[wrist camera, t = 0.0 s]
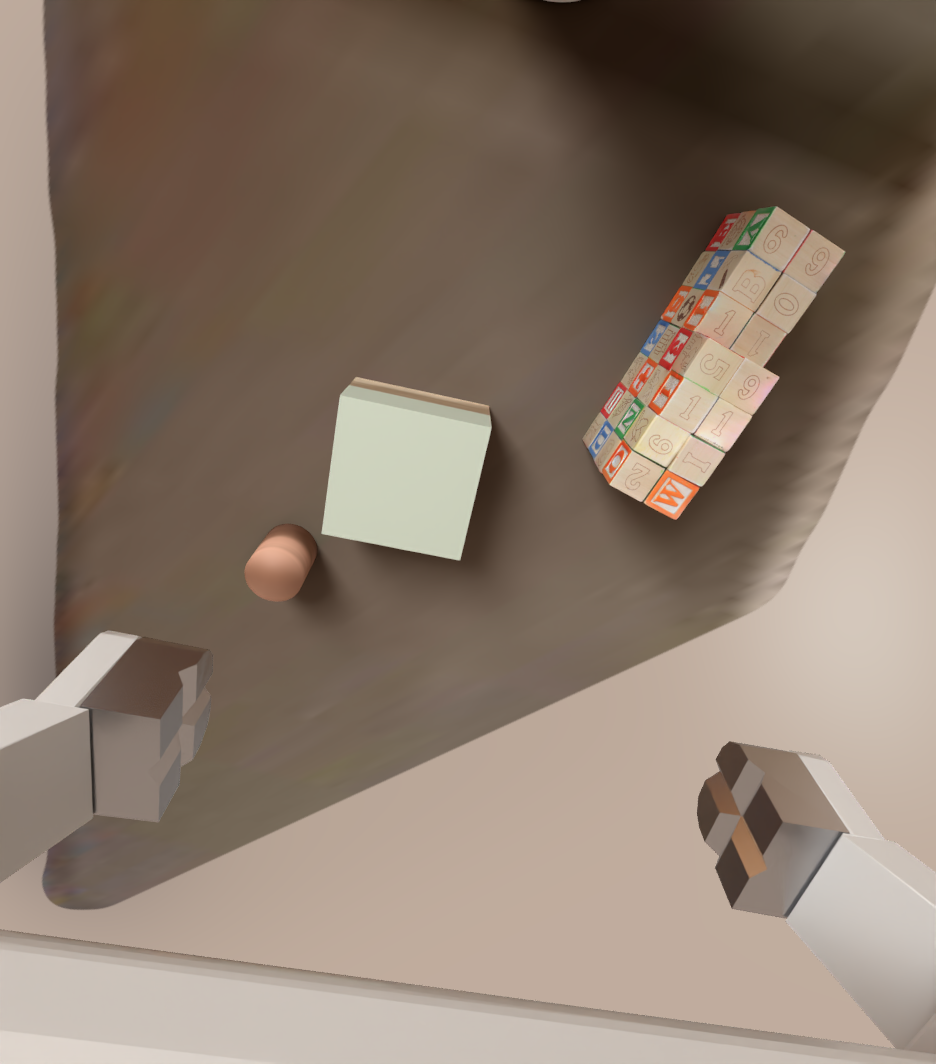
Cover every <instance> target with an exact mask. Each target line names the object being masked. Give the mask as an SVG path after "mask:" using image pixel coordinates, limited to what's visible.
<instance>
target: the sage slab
mask: <svg viewBox="0 0 936 1064" xmlns="http://www.w3.org/2000/svg"><path fill="white" fill-rule="evenodd" d="M491 429H492V426H491V419H490V415H485V414H481V413H476V412H472V411H467V410H462V409H458V408H453V407H448V406H444V405H439V404H435V403H430V402H425V401H421V400H416V399H411V398H407V397H402V396H398V395H393V394H388V393H384V392H379V391H374V390H370V389H365V388H360V387H356V386H351V385H349V386H348V387H347V388H346V389H345V390H344V391H343V393H342V394H341V395H340V400H339V407H338V415H337V422H336V430H335V437H334V445H333V452H332V460H331V467H330V475H329V482H328V490H327V497H326V505H325V512H324V520H323V528H322V534H326V535H331V536H336V537H341V538H346V539H351V540H357V541H362V542H367V543H372V544H377V545H382V546H387V547H393V548H398V549H403V550H408V551H413V552H418V553H423V554H429V555H434V556H439V557H444V558H449V559H454V560H459V561H460V559H461V555H462V550H463V546H464V542H465V538H466V534H467V529H468V525H469V521H470V517H471V513H472V508H473V504H474V500H475V496H476V492H477V487H478V483H479V479H480V475H481V471H482V466H483V462H484V458H485V454H486V450H487V445H488V441H489V437H490V433H491Z"/></svg>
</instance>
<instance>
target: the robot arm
mask: <svg viewBox="0 0 936 1064" xmlns="http://www.w3.org/2000/svg"><path fill="white" fill-rule="evenodd" d="M545 1H551V2H573V1H579V0H545ZM212 673H213V654H212V652H211V651H210V650H208V649H203V648H198V647H193V646H188V645H183V644H178V643H173V642H168V641H163V640H158V639H153V638H148V637H140V636H136V635H130V634H125V633H120V632H114V631H106V632H103V633H100V634H99V635H98V636H97V637H96V638H95V639H94V640H93V641H92V642H91V643H90V644H89V645H88V646H87V647H86V648H85V649H84V650H83V651H82V652H81V653H80V654H79V655H78V656H77V657H76V658H75V659H74V660H73V661H72V662H71V663H70V664H69V665H68V666H67V667H66V669H65V670H64V671H63V672H62V673H61V674H60V675H59V676H58V677H57V678H56V679H55V680H54V681H53V682H52V683H51V684H50V685H49V686H48V687H47V688H46V689H45V690H44V691H43V692H42V693H41V694H40V695H39V696H38V697H37V698H36V699H35V700H29V699H21V700H18V701H16V702H13V703H11V704H8V705H5V706H3V707H0V883H1V882H2V881H4V880H5V879H6V878H8V877H9V876H11V875H12V874H14V873H15V872H16V871H18V870H19V869H21V868H22V867H24V866H25V865H26V864H28V863H29V862H31V861H32V860H34V859H35V858H37V857H38V856H39V855H41V854H42V853H44V852H45V851H47V850H48V849H49V848H51V847H52V846H54V845H55V844H57V843H58V842H59V841H61V840H62V839H64V838H65V837H67V836H68V835H69V834H71V833H72V832H74V831H75V830H77V829H78V828H80V827H81V826H82V825H84V824H85V823H87V822H88V821H90V820H91V819H92V818H93V814H95V815H103V816H111V817H119V818H128V819H136V820H144V821H152V822H159V820H160V818H161V817H162V815H163V813H164V811H165V809H166V808H167V806H168V804H169V802H170V800H171V799H172V797H173V795H174V793H175V791H176V789H177V788H178V786H179V784H180V767H181V766H183V765H185V764H186V763H188V762H190V761H191V760H193V758H194V756H195V754H196V752H197V750H198V749H199V747H200V745H201V742H202V739H203V736H204V733H205V730H206V728H207V724H208V719H209V714H210V707H211V696H210V694H209V693H208V691H207V690H206V688H205V685H206V683H207V682H208V680H209V678H210V677H211V675H212ZM716 762H717V765H718V767H719V770H720V771H719V772H718V773H716V774H715V775H713V776H712V777H710V778H708V779H707V780H706V781H705V782H704V785H703V787H702V789H701V792H700V794H699V797H698V808H697V816H698V822H699V828H700V830H701V833H702V836H703V838H704V841H705V842H706V843H707V844H708V845H709V846H710V847H711V848H712V849H713V850H714V851H715V852H716V853H717V854H718V855H719V859H718V861H717V864H716V867H715V869H716V871H717V873H718V876H719V878H720V881H721V883H722V886H723V888H724V891H725V893H726V895H727V898H728V900H729V902H730V905H731V908H732V909H736V910H743V911H747V912H753V913H758V914H764V915H770V916H775V917H781V918H786V919H787V920H786V922H787V924H788V925H789V926H790V927H791V928H792V929H793V930H794V932H795V933H796V934H797V935H798V936H799V937H800V939H801V940H802V941H803V942H804V943H805V944H806V946H807V947H808V948H809V949H810V950H811V951H812V952H813V953H814V955H815V956H816V957H817V958H818V959H819V960H820V962H821V963H822V964H823V965H824V966H825V967H826V968H827V970H828V971H829V972H830V973H831V974H832V975H833V976H834V978H835V979H836V980H837V981H838V982H839V983H840V985H841V986H842V987H843V988H844V989H845V990H846V991H847V993H848V994H849V995H850V996H851V997H852V998H853V1000H854V1001H855V1002H856V1003H857V1004H858V1005H859V1006H860V1007H861V1009H862V1010H863V1011H864V1012H865V1013H866V1015H867V1016H868V1017H869V1018H870V1019H871V1020H872V1021H873V1023H874V1024H875V1025H876V1026H877V1027H878V1028H879V1029H880V1031H881V1032H882V1033H883V1034H884V1035H885V1036H886V1037H887V1039H888V1040H889V1041H890V1042H891V1043H892V1044H893V1046H894V1047H895V1048H896V1049H894V1048H886V1047H879V1046H872V1045H864V1044H857V1043H849V1042H842V1041H834V1040H827V1039H820V1038H812V1037H805V1036H796V1035H789V1034H782V1033H774V1032H767V1031H759V1030H751V1029H743V1028H736V1027H729V1026H721V1025H714V1024H706V1023H698V1022H691V1021H683V1020H675V1019H668V1018H660V1017H652V1016H645V1015H638V1014H630V1013H622V1012H615V1011H608V1010H600V1009H593V1008H584V1007H577V1006H570V1005H562V1004H555V1003H546V1002H540V1001H533V1000H525V999H518V998H510V997H502V996H495V995H487V994H480V993H473V992H466V991H458V990H450V989H443V988H436V987H427V986H421V985H413V984H406V983H398V982H391V981H383V980H376V979H368V978H361V977H353V976H346V975H338V974H331V973H323V972H316V971H308V970H301V969H293V968H286V967H278V966H270V965H263V964H255V963H248V962H241V961H233V960H225V959H218V958H211V957H202V956H195V955H188V954H180V953H173V952H166V951H158V950H150V949H142V948H135V947H128V946H120V945H113V944H105V943H98V942H90V941H83V940H75V939H68V938H60V937H52V936H45V935H37V934H30V933H23V932H15V931H8V930H0V1064H936V872H934V871H933V870H932V869H930V868H929V867H928V866H926V865H925V864H924V863H922V862H921V861H920V860H918V859H917V858H916V857H914V856H913V855H912V854H910V853H909V852H908V851H906V850H905V849H904V848H902V847H901V846H899V845H898V844H897V843H896V842H892V841H886V840H885V839H884V838H883V836H882V835H881V833H880V832H879V831H878V829H877V828H876V826H875V825H874V824H873V822H872V821H871V819H870V818H869V817H868V815H867V814H866V813H865V811H864V810H863V808H862V807H861V805H860V804H859V803H858V801H857V800H856V799H855V797H854V796H853V794H852V793H851V791H850V790H849V789H848V787H847V786H846V785H845V783H844V782H843V780H842V779H841V778H840V776H839V775H838V773H837V772H836V770H835V769H834V768H833V766H832V765H831V763H830V762H829V761H828V760H826V759H825V758H823V757H822V756H820V755H816V754H809V753H802V752H796V751H783V750H777V749H772V748H766V747H760V746H754V745H748V744H742V743H736V742H728V743H727V744H726V745H725V746H723V747H722V749H721V751H720V753H719V754H718V756H717V758H716Z"/></svg>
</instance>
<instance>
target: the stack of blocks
mask: <svg viewBox="0 0 936 1064" xmlns="http://www.w3.org/2000/svg"><path fill="white" fill-rule="evenodd" d="M844 254H845V251H843V250H842V249H841V248H839V247H838V246H836V245H835V244H833V243H832V242H830V241H829V240H827V239H826V238H824V237H823V236H821V235H820V234H818V233H817V232H816V231H814V230H811V229H809V228H808V227H807V226H805V225H804V224H802V223H801V222H799V221H798V220H796V219H795V218H793V217H792V216H790V215H789V214H788V213H786V212H784V211H783V210H782V209H780V208H778V207H777V206H773V207H767V208H759V209H757V211H746V212H742V213H735V214H728V215H727V216H726V217H725V219H724V221H723V222H722V224H721V226H720V227H719V229H718V230H717V232H716V234H715V235H714V237H713V238H712V240H711V241H710V243H709V245H708V246H707V248H706V250H705V252H702V254H701V255H700V257H699V258H698V260H697V262H696V263H695V265H694V266H693V268H692V269H691V271H690V273H689V274H688V276H687V277H686V279H685V280H684V282H683V284H682V286H681V287H680V288H679V290H678V291H677V293H676V294H675V296H674V297H673V299H672V300H671V302H670V304H669V305H668V307H667V308H666V310H665V311H664V313H663V314H662V316H661V320H660V321H659V322H658V324H657V325H656V327H655V329H654V330H653V332H652V333H651V335H650V336H649V338H648V339H647V341H646V342H645V344H644V346H643V347H642V349H641V351H640V353H639V354H638V355H637V357H636V358H635V360H634V362H633V363H632V365H631V366H630V368H629V369H628V371H627V373H626V374H625V376H624V377H623V379H622V381H621V382H619V384H618V385H617V387H616V388H615V390H614V391H613V393H612V394H611V396H610V398H609V399H608V401H607V402H606V404H605V405H604V407H603V408H602V410H601V412H600V413H599V414H598V416H597V417H596V419H595V420H594V422H593V423H592V425H591V426H590V428H589V430H588V431H587V433H586V434H585V436H584V437H583V442H584V443H585V445H586V447H587V448H588V449H589V451H590V453H591V455H592V457H593V459H594V462H595V464H596V465H597V467H598V469H599V471H600V472H601V473H602V474H603V475H604V476H605V478H606V480H607V482H608V483H609V485H611V486H612V487H614V488H616V489H618V490H620V491H622V492H623V493H625V494H627V495H629V496H631V497H633V498H634V499H636V500H638V501H640V502H642V501H643V502H644V503H645V504H646V505H648V506H650V507H651V508H653V509H655V510H657V511H659V512H661V513H663V514H665V515H666V516H668V517H670V518H672V519H675V520H677V519H678V517H679V516H680V515H681V513H682V512H683V510H684V509H685V508H686V506H687V505H688V503H689V502H690V501H691V500H692V498H693V497H694V495H695V494H696V493H697V491H698V490H699V487H701V486H703V485H704V484H705V483H706V481H707V480H708V478H709V477H710V476H711V474H712V473H713V471H714V470H715V469H716V467H717V466H718V464H719V463H720V461H721V460H722V459H723V457H724V456H725V452H726V451H728V450H730V448H731V447H732V445H733V444H734V443H735V441H736V440H737V438H738V437H739V436H740V434H741V433H742V431H743V430H744V428H745V427H746V426H747V424H748V423H749V421H750V420H751V418H752V415H753V414H754V413H755V412H756V411H757V409H758V408H759V406H760V405H761V404H762V402H763V401H764V399H765V398H766V397H767V395H768V394H769V392H770V391H771V389H772V388H773V387H774V385H775V384H776V382H777V381H778V380H779V376H777V375H775V374H773V373H772V372H770V371H768V370H766V369H765V368H763V367H764V366H765V365H766V363H767V362H768V360H769V359H770V358H771V356H772V355H773V353H774V352H775V351H776V349H777V348H778V346H779V345H780V344H781V342H782V341H783V339H784V338H785V337H786V335H787V334H788V333H790V331H791V330H792V329H793V327H794V326H795V325H796V323H797V322H798V320H799V319H800V318H801V316H802V315H803V313H804V312H805V311H806V309H807V308H808V306H809V305H810V304H811V302H812V301H813V299H814V298H815V297H816V292H817V291H818V290H819V289H820V288H821V286H822V285H823V284H824V282H825V281H826V279H827V278H828V276H829V275H830V274H831V272H832V271H833V270H834V268H835V267H836V265H837V264H838V263H839V261H840V260H841V258H842V257H843V256H844Z"/></svg>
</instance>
